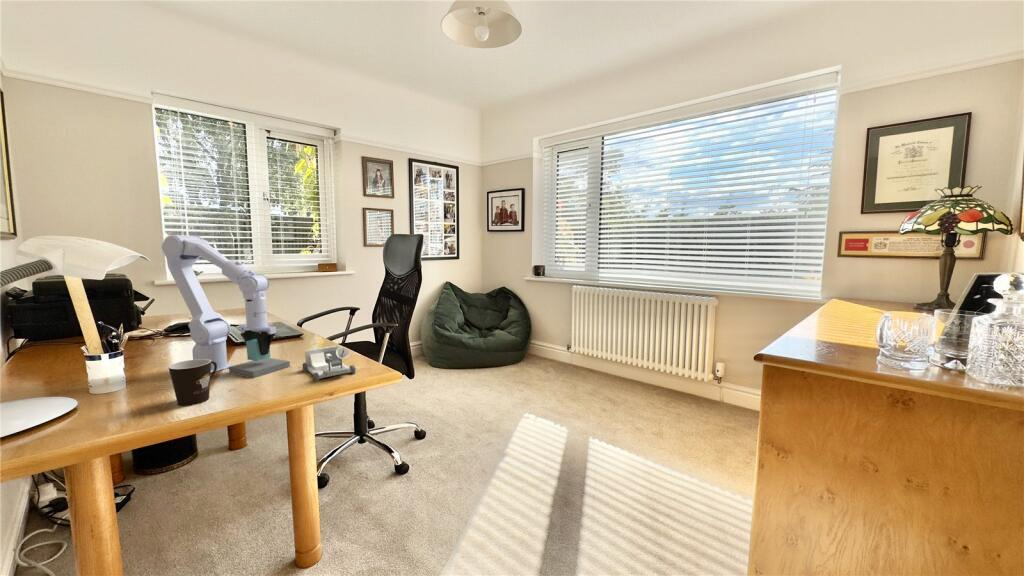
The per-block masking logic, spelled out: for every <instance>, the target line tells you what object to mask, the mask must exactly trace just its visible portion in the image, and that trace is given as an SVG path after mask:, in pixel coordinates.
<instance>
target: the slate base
mask: <svg viewBox="0 0 1024 576" xmlns="http://www.w3.org/2000/svg"><path fill="white" fill-rule="evenodd" d="M233 365H234V366H230V367H229V368H228V369H229V374H232V373H233V375H237V374H239V375H238V376H241V375H243V376H242V377H246V376H248V377H247V378H252V379H255V378H259V377H262V376H266V375H269V374H272V373H276V372H279V371H281V370H285V368H286V369H289V368H291V364H290V361H289V360H285V359H284V360H283V359H278V358H272V357H270V358H266V359H263V360H259V361H254V360H250V361H247V362H243V363H239V364H238V363H237V364H233ZM288 367H289V368H288Z"/></svg>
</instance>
